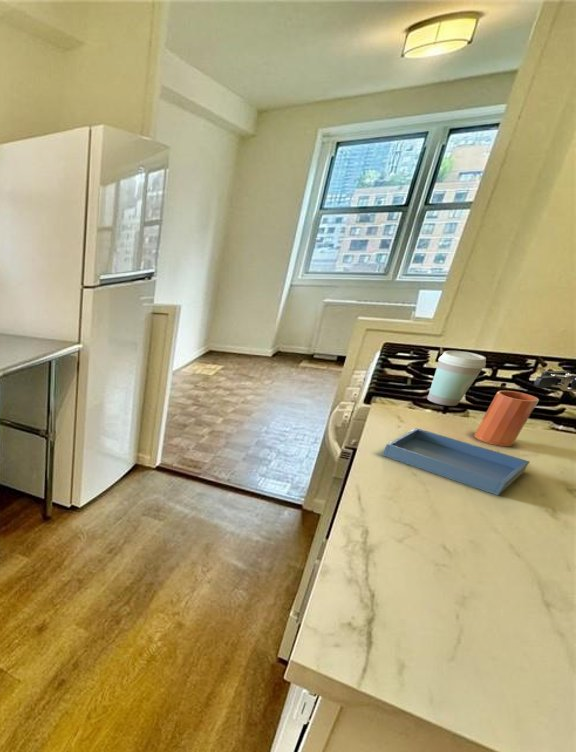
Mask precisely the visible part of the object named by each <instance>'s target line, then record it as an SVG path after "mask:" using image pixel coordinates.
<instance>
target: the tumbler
mask: <svg viewBox="0 0 576 752" xmlns="http://www.w3.org/2000/svg"><path fill="white" fill-rule="evenodd" d="M539 402H540V399H539V398H538V397H537V396H534V395H531V394H528V393H524V392H520V391H514V390H498V391H497V392H496V393H495V395H494V397H493V399H492V401H491V403H490V405H489V406H488V408H487V410H486V411H485V413H484V416H483V418H482V420H481V421H480V423H479V425H478V426H477V429H476V431H475V432H474V435H473V436H474V438H475V439H477V440H479V441H481V442H484V443H486V444H489V445H494V446H500V447H510V446H513V445H514V443H515V442H516V440H517V439H518V437H519V435H520V434H521V432H522V431H523V428H524V427H525V425H526V423H527V422H528V420H529V418H530V417H531V415H532V414H533V411H534V410H535V409H536V406H537V405H538V403H539Z"/></svg>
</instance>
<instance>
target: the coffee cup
mask: <svg viewBox="0 0 576 752" xmlns="http://www.w3.org/2000/svg"><path fill="white" fill-rule="evenodd" d="M437 360H438V363H437V366H436V369H435V371H434V376H433V379H432V382H431V385H430V389H429V392H428V394H427V398H426V399H427V400H428V401H429V402H431V403H433V404H437V405H441V406H447V407H454V406H458V405H459V403H460V402H461V400H463V398H464V396H465V395H466V393H467V392H468V390H469V389H470V387H471V386H472V385H473V383H474V382H475V381H476V379H477V377H478V376H479V374H480V373H481V371H482V370H483V369H485V368H486V365H487V363H486V361H487V357H486V356H484V355H482V354H478V353H474V352H469V351H461V350H445V351H444V352H443V353H442V355H440V356H439V358H438V359H437Z"/></svg>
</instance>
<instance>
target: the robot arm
mask: <svg viewBox="0 0 576 752" xmlns="http://www.w3.org/2000/svg"><path fill="white" fill-rule="evenodd" d="M571 372H572V371H570V370H546V371H543V372H542V374H541V375H540V376H539V377H536V379H535V380H534V382H533V387H535V388H538V389H540V388H558V389H559V390H561V391H562V392H563V391H564V392H571V393H576V374H575V373H571ZM570 384H571V387H569V385H570Z"/></svg>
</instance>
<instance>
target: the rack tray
mask: <svg viewBox="0 0 576 752" xmlns="http://www.w3.org/2000/svg"><path fill="white" fill-rule="evenodd" d="M381 456H383V457H386V458H389V459H392V460H395V461H397V462H400V463H403V464H406V465H409V466H411V467H414V468H418V469H421V470H423V471H426V472H429V473H432V474H435V475H438V476H440V477H443V478H446V479H450V480H452V481H455V482H458V483H461V484H463V485H467V486H470V487H472V488H474V489H475V488H476V489H478V490H481V491H484V492H487V493H490V494H492V495H495V496H499V495H501V493H503V491H505V490H506V489H507V488H508V487H509V486H510V485H512V483H514V481H516V480H517V479H518V478H519V477H520V476H522V474H523V473H524V472H525V470H526V469H527V467H528V466H529V464H530V461H529V460H525V459H522V458H519V457H515V456H513V455H510V454H506V453H502V452H499V451H496V450H492V449H488V448H485V447H482V446H479V445H475V444H473V443H469V442H466V441H462V440H460V439H459V440H458V439H455V438H451V437H449V436H445V435H443V434H442V435H441V434H438V433H435V432H431V431H428V430H425V429H422V428H418V427H415V428H414V429H412V430H410V431H408V432H406V433H404V434H403V435H401V436H399V437H397V438H395V439H394V440H392V441H390V442H388V443H387V444H386V445H385V447H384V449H383V452H382V454H381Z"/></svg>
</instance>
